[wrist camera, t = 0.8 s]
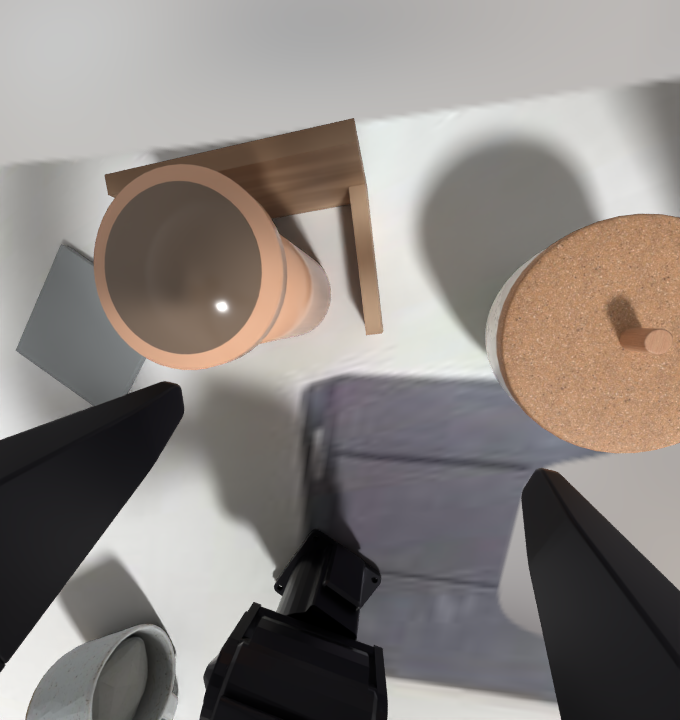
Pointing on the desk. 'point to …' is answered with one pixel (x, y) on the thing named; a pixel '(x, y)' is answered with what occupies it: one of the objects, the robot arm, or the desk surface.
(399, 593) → the desk surface
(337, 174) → the light wood arch piece
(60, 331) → the slate mat
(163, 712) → the ceramic mug
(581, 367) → the lidded jar
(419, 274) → the desk surface
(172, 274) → the terracotta pot
